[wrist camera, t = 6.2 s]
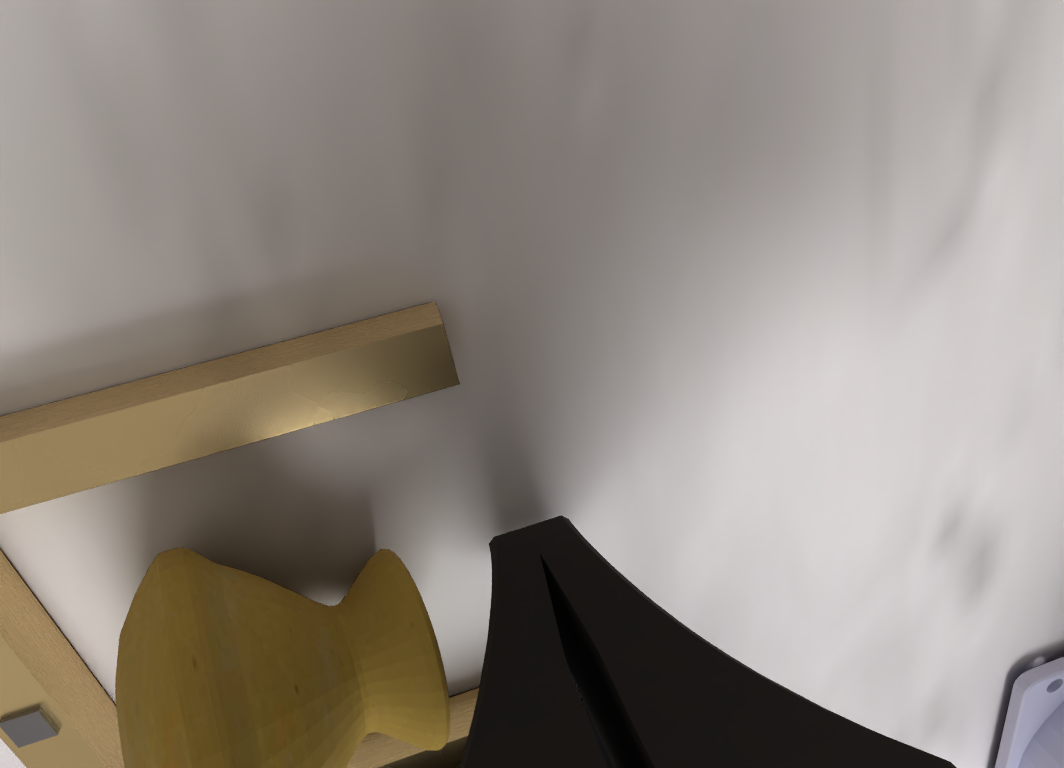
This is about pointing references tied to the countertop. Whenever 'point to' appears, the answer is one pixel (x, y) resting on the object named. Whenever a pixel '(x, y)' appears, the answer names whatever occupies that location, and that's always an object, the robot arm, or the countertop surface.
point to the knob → (274, 668)
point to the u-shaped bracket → (171, 438)
